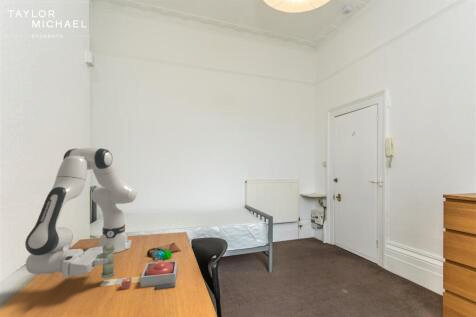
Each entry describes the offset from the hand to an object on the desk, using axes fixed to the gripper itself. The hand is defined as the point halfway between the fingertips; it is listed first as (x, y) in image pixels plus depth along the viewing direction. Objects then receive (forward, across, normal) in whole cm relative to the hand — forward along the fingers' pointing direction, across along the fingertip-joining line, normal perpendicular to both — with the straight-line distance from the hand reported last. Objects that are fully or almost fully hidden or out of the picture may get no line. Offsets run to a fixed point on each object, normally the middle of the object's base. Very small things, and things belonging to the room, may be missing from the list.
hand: (110, 257), depth 96 cm
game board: (+12, 0, -11) cm, 17 cm away
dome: (+20, 0, -10) cm, 23 cm away
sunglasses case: (+19, -32, -13) cm, 39 cm away
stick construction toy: (+18, -23, -12) cm, 31 cm away
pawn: (-1, 0, -8) cm, 8 cm away
